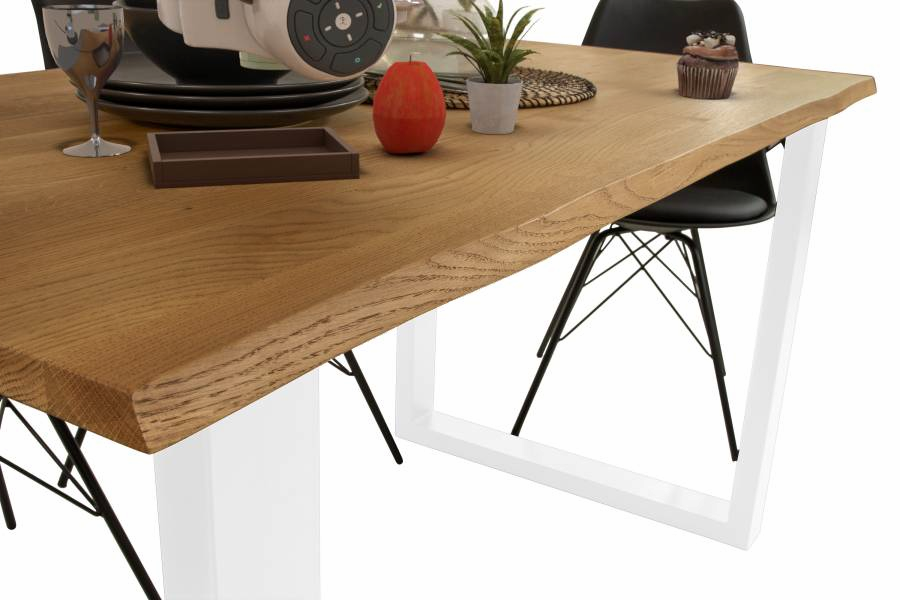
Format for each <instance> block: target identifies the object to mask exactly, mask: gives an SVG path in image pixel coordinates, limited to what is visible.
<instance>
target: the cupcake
mask: <svg viewBox="0 0 900 600" xmlns="http://www.w3.org/2000/svg"><path fill="white" fill-rule="evenodd" d="M685 39H686V42H687V44H688V45H686V46H684V47H683V48H682V55H681V57H679V59H678V61H677V62H675V65H676V72H677V83H678V85H677V86H678V95H679V96H681V97H686V98H692V99H699V100H700V99H701V100H726V99H730V97H731V93H732V91H733V88H734V84H735V82H736V81H735V80H736V77H737V74H738V72H739V69H740V68H739V67H740V65H739V61H738V60H739V54H738V51H737V48H736V46H735V43H736V37H735V36H734V35H731V33H730V32H728V33H726V32H724V33H722V32H717V31H716V30H714V29H710V30H707V31H702V30H699V29H698V30H695V31H692V32H691V35H688V36H687V37H686V38H685Z"/></svg>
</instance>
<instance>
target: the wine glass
mask: <svg viewBox="0 0 900 600" xmlns="http://www.w3.org/2000/svg"><path fill="white" fill-rule="evenodd" d="M42 18H43V24H44V31H45V32H44V33H45V36H46V40H47V43H48V47H49V51H50V53H51V55H52V57H53V59H54V61H55V64H56V65H57V66H58V68H59V69H60V70H61V71H62V72H63V73H64V74H65V75H66V76H67V77H68V78H69V79H70V80H71V81H72V82H73V83H74V84H75V85H76V86H77V88H78V89H79V90H80V92H81V93H82V96H84V99H85V102H86V103H85V104H86V106H87V111H88V115H89V121H90V128H91V129H90V131H91V137H90V139H88V140H87V141H86V142H82V143H79V144H75V145H71V146H67V147H65V148H63V149H62V153H63V154H64V155H67V156H71V157H81V158H99V157H100V158H101V157H110V156H117V155H118V156H119V155H122V154H126V153H129V152H131V150H132V147H131V146H130V145H127V144H124V143H117V142H111V141H107V140H104V139H103V138H102V137H101V134H100V127H99V100H100V95H101V93H102V90H103V88H104V86H105V85H106V83H107V82H108V81H109V79H110V78H111V77H112V75H113V74H114V73H115V71H116V70H117V68H118V67H119V65H120V63H121V62H122V58H123V55H124V54H123V53H124V47H125V34H126V33H125V32H126V31H125V14H124V7H123V6H119V5H111V4H110V5H108V4H57V5H56V4H55V5H45V6H42Z"/></svg>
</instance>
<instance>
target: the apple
mask: <svg viewBox="0 0 900 600" xmlns="http://www.w3.org/2000/svg"><path fill="white" fill-rule="evenodd" d="M446 118H447V107H446V99H445V95H444V91H443V88H442V86H441V84H440V82H439V79H438V78H437V76H436V75H435V73H434V71H433V70H432V68H431V67H430V66H429V65H428V63H427V62H425V61H418V60H412V55H411V54H410V55H409V60H408V61H395V62H393V63H392V64H391V65H390V66H389V67H388V68H387V70H386V71H385V73H384V75H383V76H382V78H381V80H380V82H379V84H378V87H377V88H376V91H375V94H374V97H373V102H372V121H373V127H374V133H375V135H376V137H377V139H378V140H379V142H380V144H381V146H382V148H383V149H384V150H385V151H386V152H388V153H390V154H392V155H399V154H400V155H401V154H415V153H426V152H428V151H430V150H431V149H432V148H433V147H434V146H435V145H436V144H437V143H438V140H439V139H440V137H441V135H442V132H443V130H444V127H445V125H446Z"/></svg>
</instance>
